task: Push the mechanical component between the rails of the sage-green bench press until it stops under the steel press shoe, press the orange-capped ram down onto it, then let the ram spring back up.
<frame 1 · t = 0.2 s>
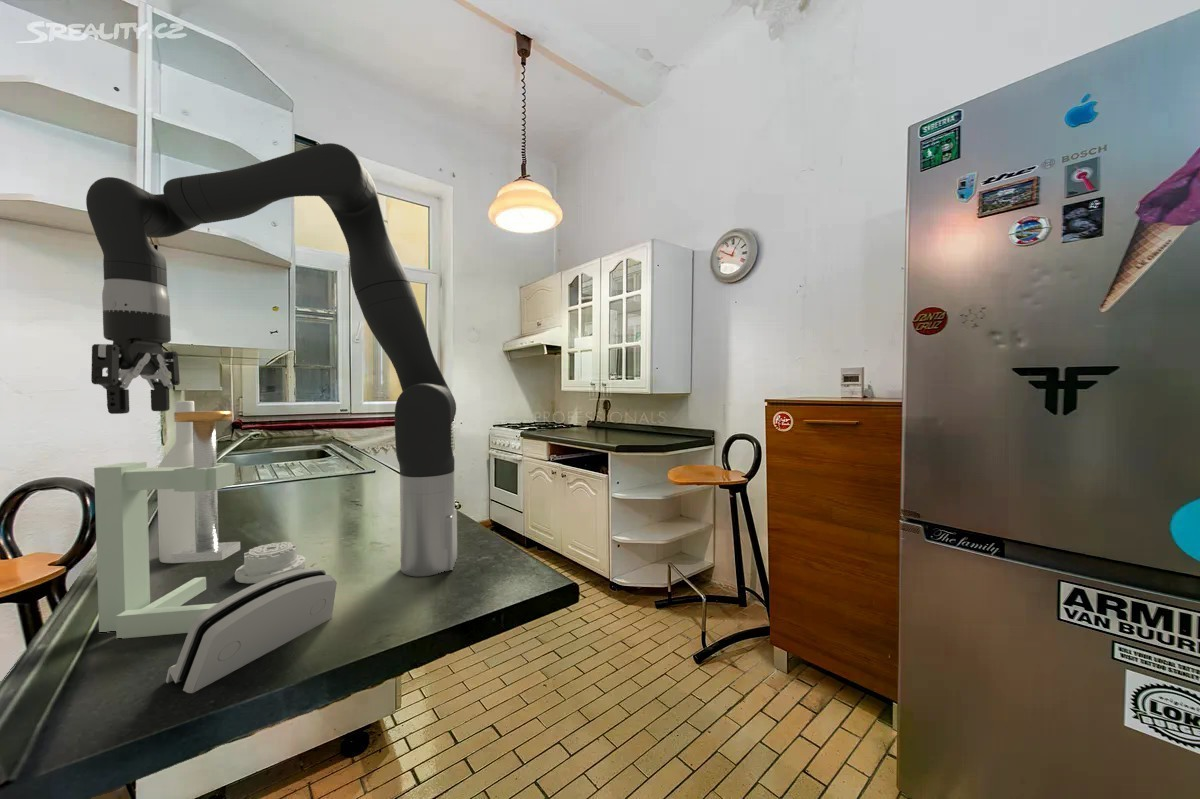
hand: (141, 412, 71), 29 cm above the counter, tool pointing down, fingers open, 8 cm apart
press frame: (223, 606, 65), on the counter
bottle: (188, 556, 85), on the counter
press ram: (205, 484, 61), point 19 cm above the counter, slide at 0.3 cm
mechanical component: (271, 573, 78), on the counter
grey curved housing: (265, 651, 55), on the counter
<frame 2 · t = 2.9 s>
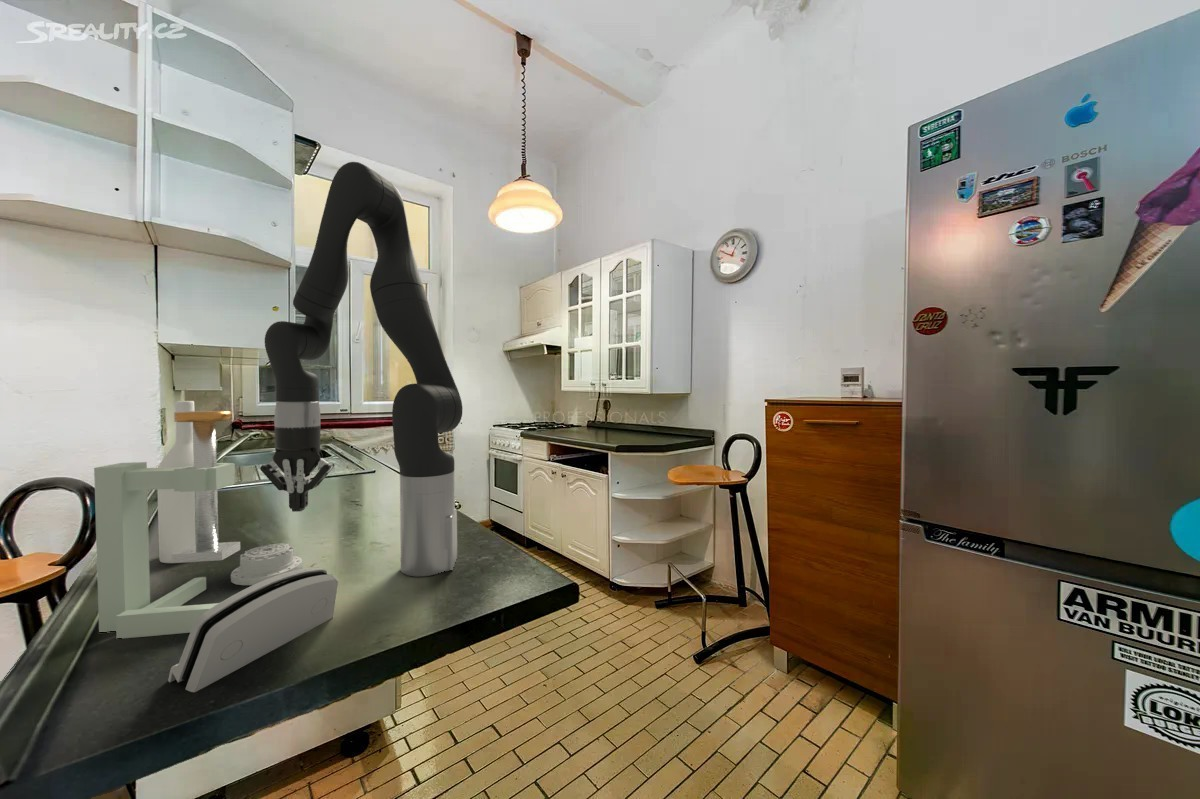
hand: (298, 510, 88), 8 cm above the counter, tool pointing down, fingers closed
nothing on the counter moved.
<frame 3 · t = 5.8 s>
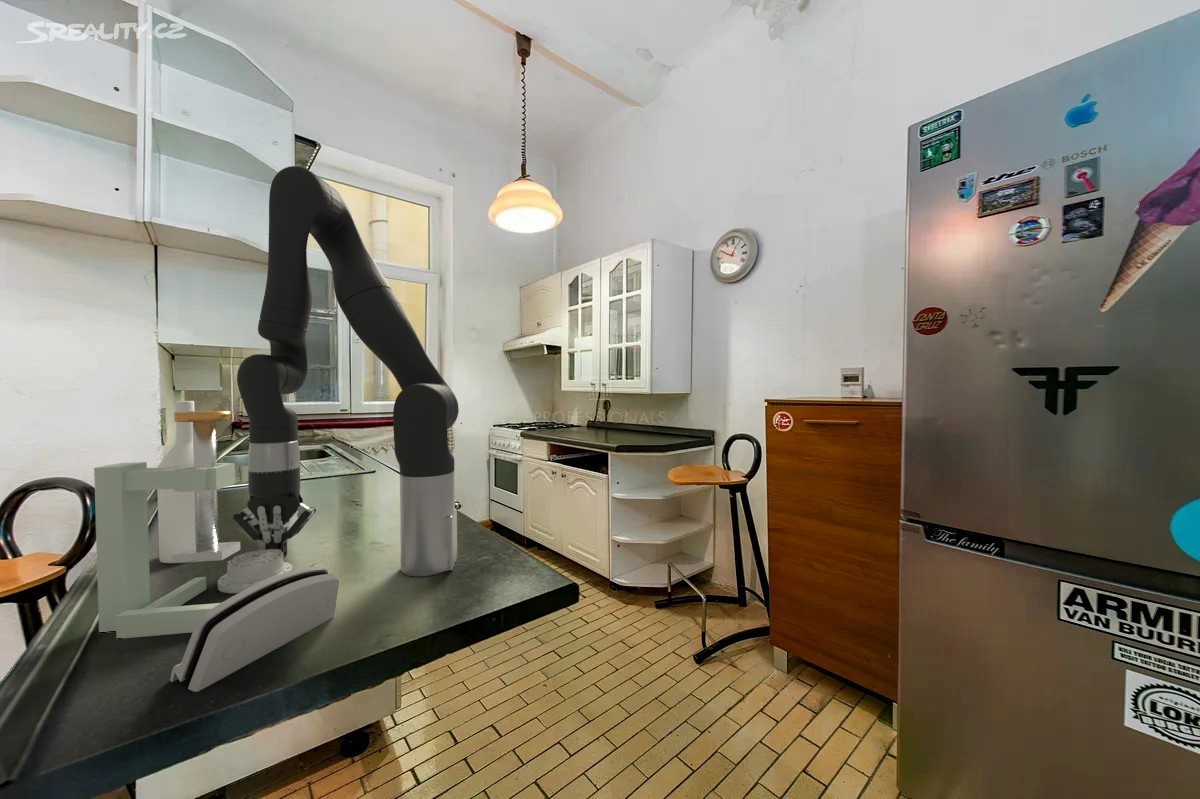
hand: (276, 561, 79), 1 cm above the counter, tool pointing down, fingers closed
mechanical component: (256, 582, 74), on the counter, touching gripper
everything else where it was.
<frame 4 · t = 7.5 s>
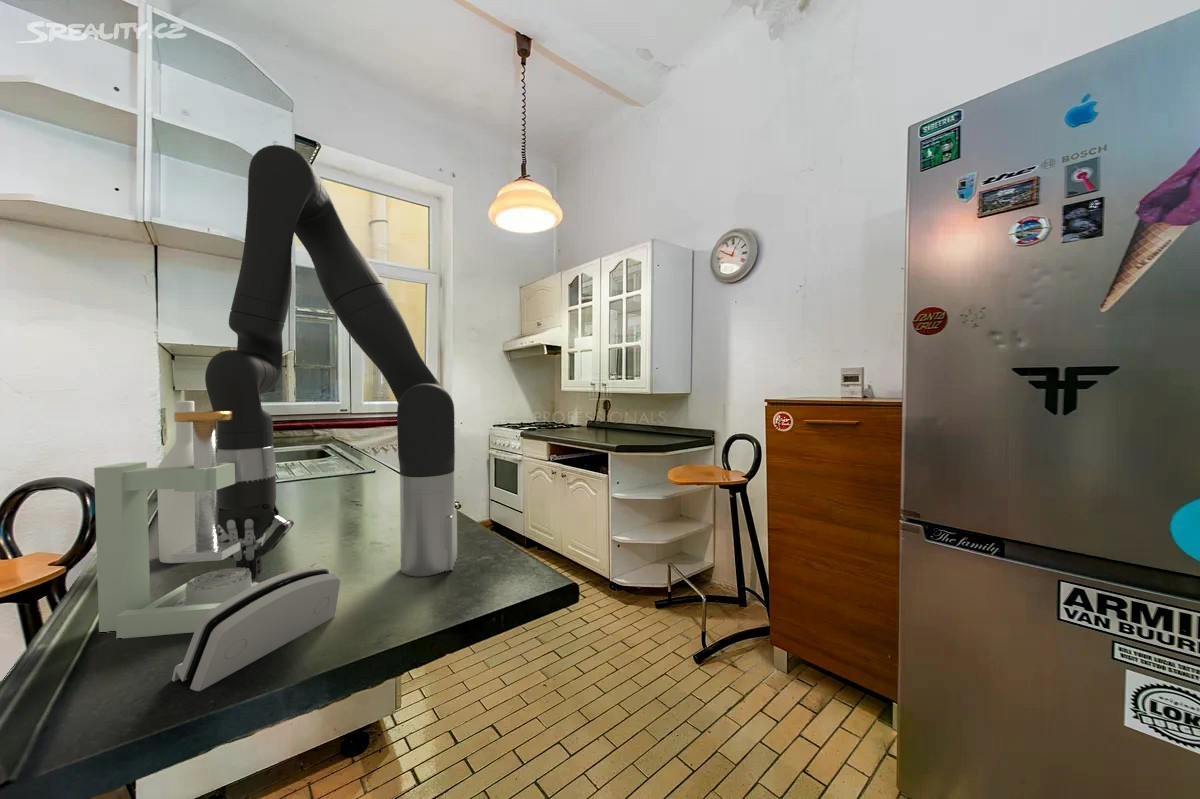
hand: (249, 580, 71), 1 cm above the counter, tool pointing down, fingers closed
mechanical component: (220, 606, 66), on the counter, touching gripper
everything else where it was.
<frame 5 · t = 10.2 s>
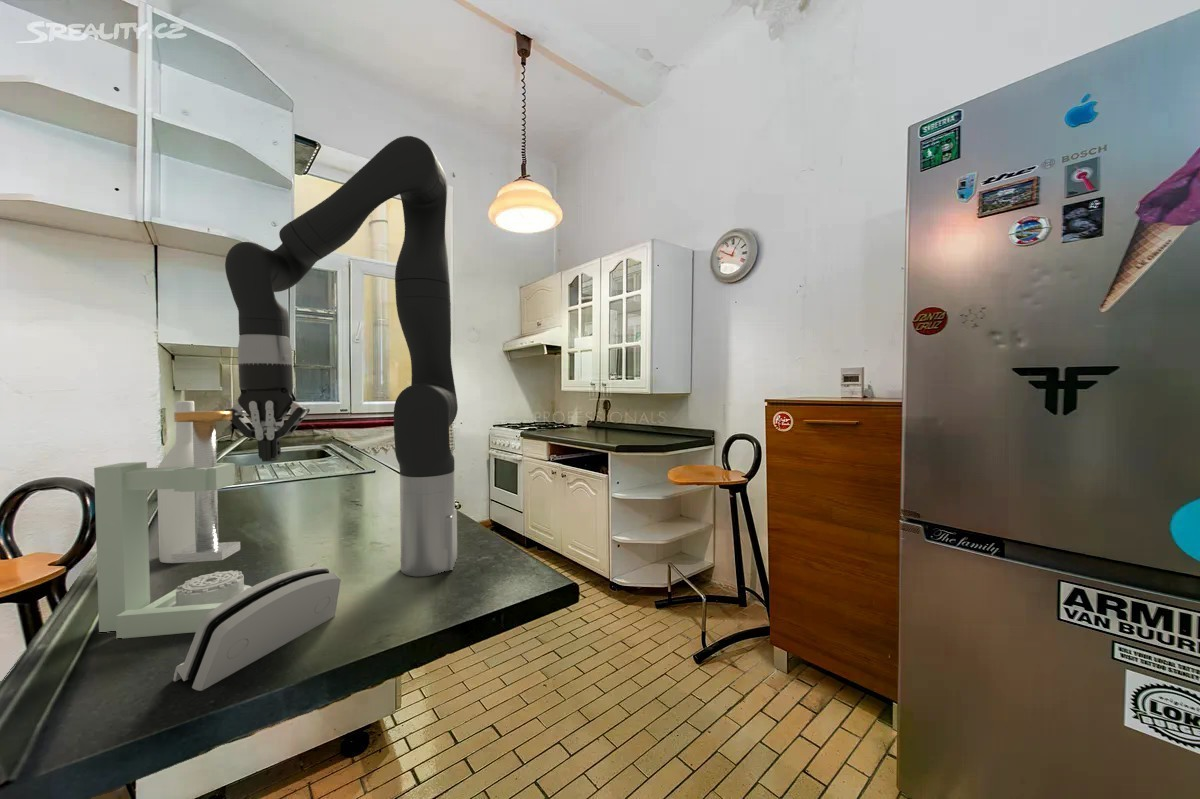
hand: (269, 460, 77), 20 cm above the counter, tool pointing down, fingers closed
mechanical component: (211, 610, 65), on the counter
everything else where it was.
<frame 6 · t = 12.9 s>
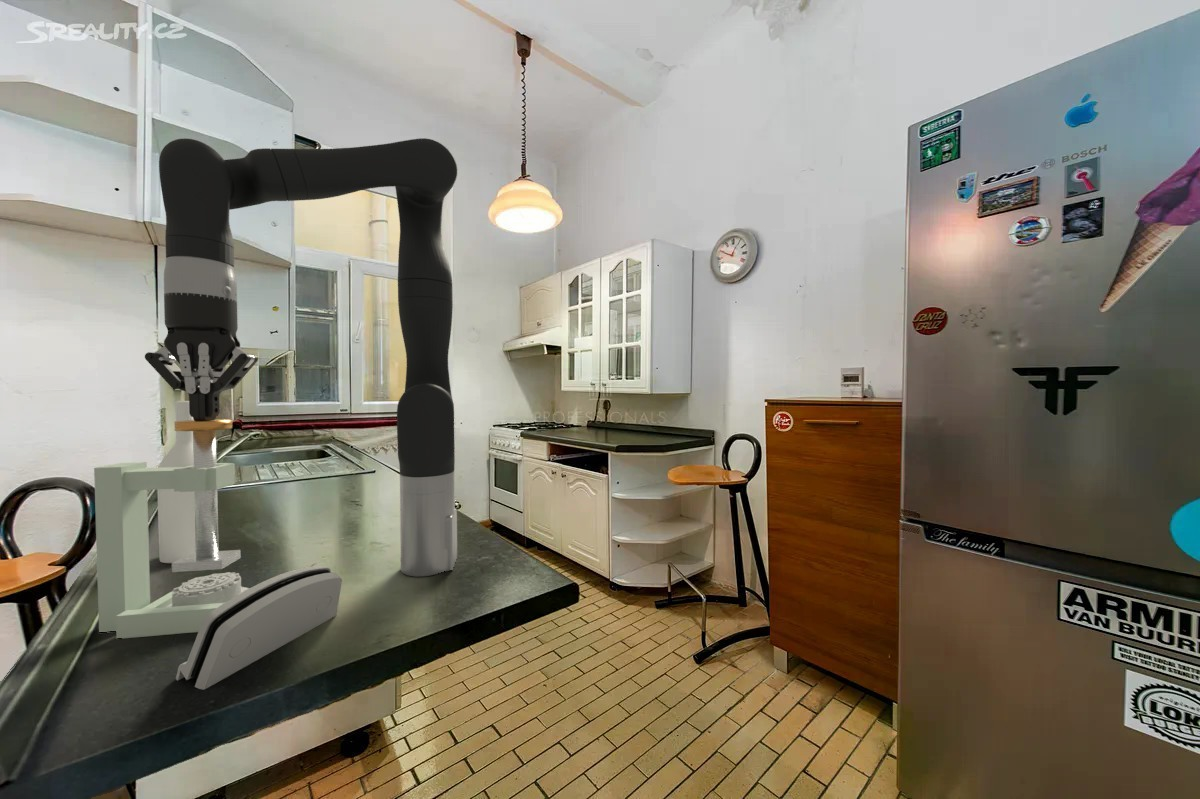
hand: (204, 420, 61), 28 cm above the counter, tool pointing down, fingers closed
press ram: (205, 492, 62), point 18 cm above the counter, slide at 1.5 cm, touching gripper
everything else where it was.
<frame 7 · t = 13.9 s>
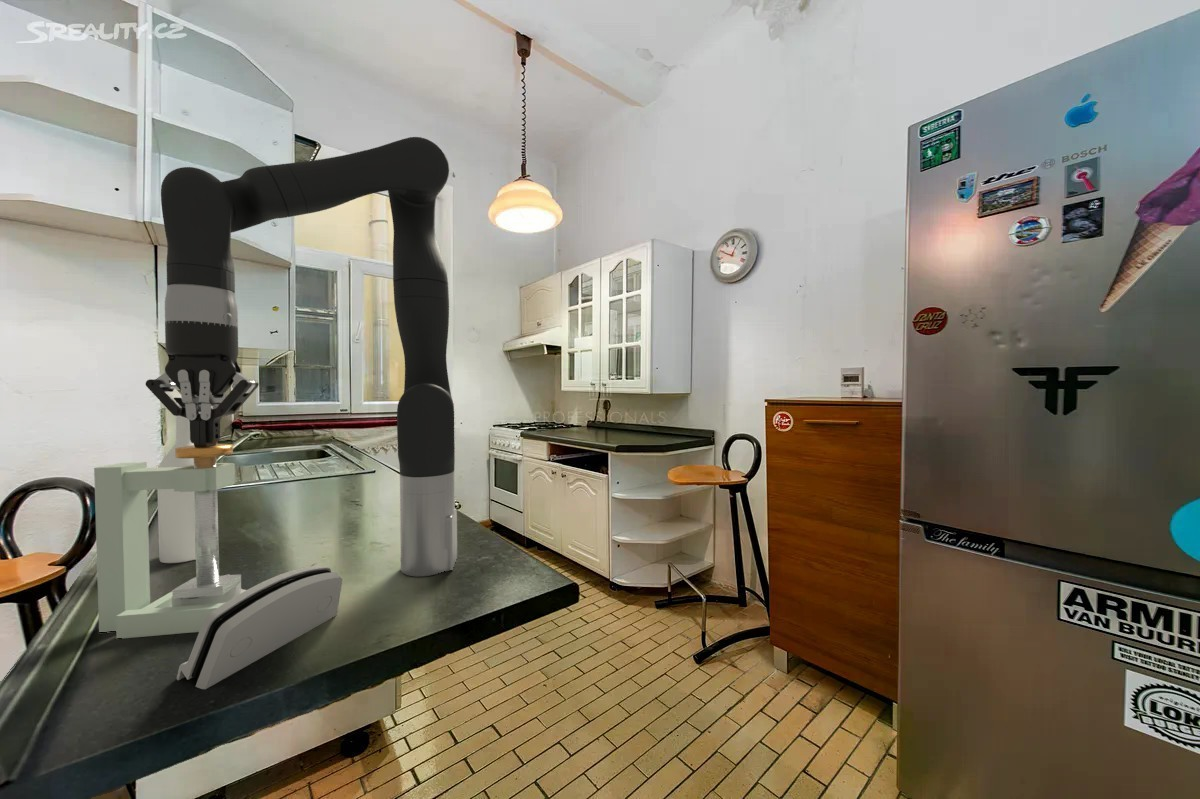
hand: (205, 446, 61), 24 cm above the counter, tool pointing down, fingers closed
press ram: (206, 518, 62), point 14 cm above the counter, slide at 5.1 cm, touching gripper, mechanical component
mechanical component: (208, 615, 64), on the counter, touching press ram
everything else where it was.
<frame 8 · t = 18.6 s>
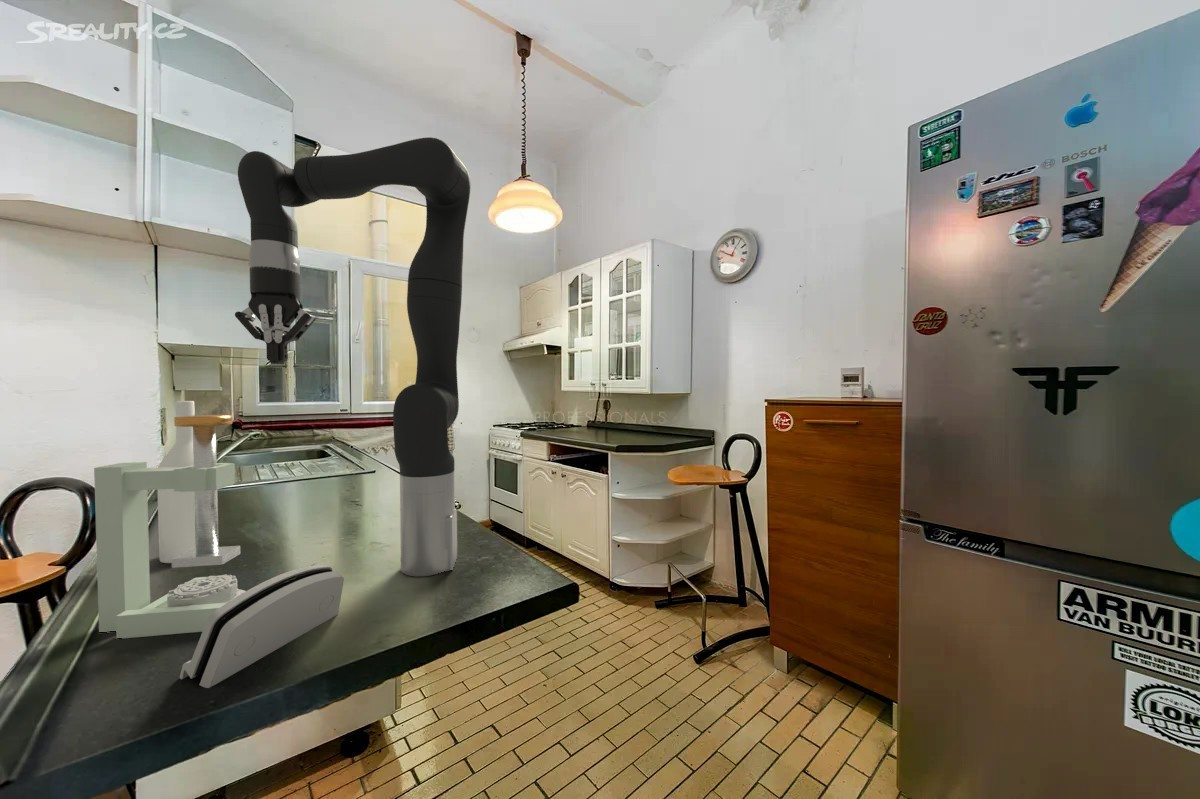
hand: (277, 363, 82), 37 cm above the counter, tool pointing down, fingers closed
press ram: (205, 488, 62), point 18 cm above the counter, slide at 0.9 cm
mechanical component: (204, 615, 63), on the counter
at the end: mechanical component 2.7 cm off-centre on the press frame, point -0.5 cm above the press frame's base; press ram slide at 0.9 cm; mechanical component tilted 0° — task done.
